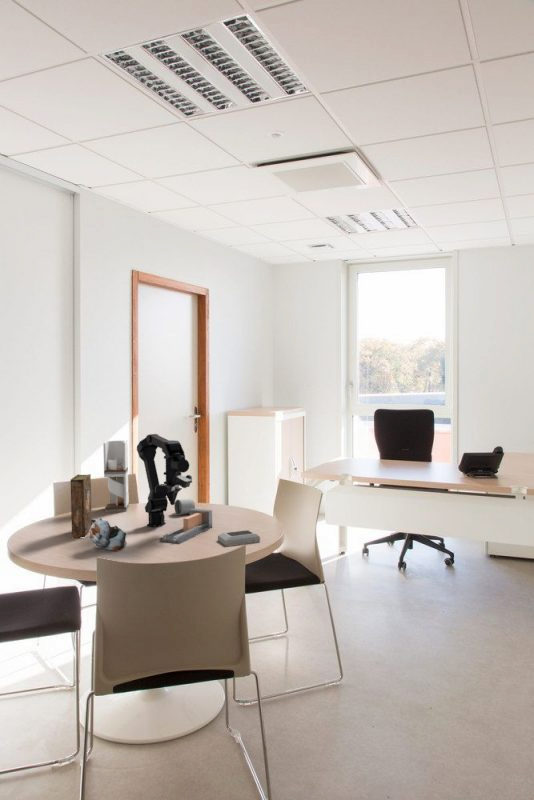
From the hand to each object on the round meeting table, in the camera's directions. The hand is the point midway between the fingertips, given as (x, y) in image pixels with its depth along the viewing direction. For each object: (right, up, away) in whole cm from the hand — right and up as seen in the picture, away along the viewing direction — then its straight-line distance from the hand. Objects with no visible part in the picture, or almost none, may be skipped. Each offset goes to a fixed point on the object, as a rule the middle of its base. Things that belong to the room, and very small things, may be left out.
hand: (172, 504), depth 277 cm
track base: (+7, -12, -4) cm, 14 cm away
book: (-40, -13, -1) cm, 42 cm away
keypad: (+30, -13, -16) cm, 36 cm away
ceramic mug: (0, -11, +37) cm, 38 cm away
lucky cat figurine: (-22, -13, -25) cm, 36 cm away
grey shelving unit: (-36, -11, +49) cm, 61 cm away
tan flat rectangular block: (+9, -11, 0) cm, 14 cm away
